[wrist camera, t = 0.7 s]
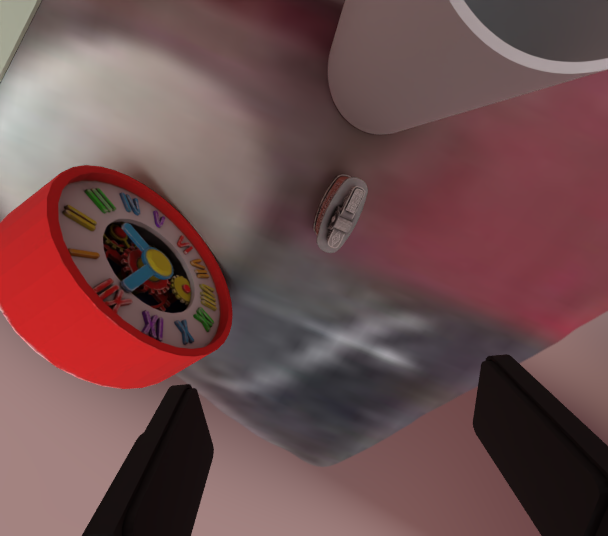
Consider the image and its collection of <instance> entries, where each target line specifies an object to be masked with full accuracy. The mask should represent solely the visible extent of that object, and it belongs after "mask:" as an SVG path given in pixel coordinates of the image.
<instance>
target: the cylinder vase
mask: <svg viewBox="0 0 608 536" xmlns="http://www.w3.org/2000/svg"><path fill="white" fill-rule="evenodd" d="M604 70H608V0H345V2H344V6H343V9H342V12H341V16H340V19H339V23H338V26H337V29H336V33H335V36H334V39H333V43H332V46H331V50H330V54H329V60H328V83H329V88H330V92H331V95H332V98H333V101H334V103H335V105H336V107H337V109H338V110H339V112H340V113H341V114H342V116H343V117H344V118H345V119H346V120H347V121H348V122H349V123H350V124H352V125H353V126H354V127H356V128H358V129H360V130H362V131H364V132H367V133H371V134H378V135H385V134H392V133H396V132H399V131H403V130H406V129H410V128H413V127H416V126H420V125H423V124H426V123H430V122H433V121H436V120H440V119H443V118H447V117H450V116H453V115H457V114H460V113H463V112H467V111H470V110H473V109H477V108H480V107H484V106H487V105H490V104H494V103H497V102H500V101H504V100H507V99H510V98H514V97H517V96H520V95H524V94H527V93H531V92H534V91H537V90H541V89H544V88H547V87H551V86H554V85H557V84H561V83H564V82H568V81H571V80H574V79H578V78H581V77H584V76H588V75H591V74H594V73H598V72H601V71H604Z"/></svg>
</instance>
